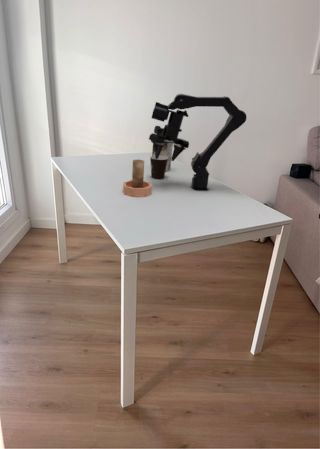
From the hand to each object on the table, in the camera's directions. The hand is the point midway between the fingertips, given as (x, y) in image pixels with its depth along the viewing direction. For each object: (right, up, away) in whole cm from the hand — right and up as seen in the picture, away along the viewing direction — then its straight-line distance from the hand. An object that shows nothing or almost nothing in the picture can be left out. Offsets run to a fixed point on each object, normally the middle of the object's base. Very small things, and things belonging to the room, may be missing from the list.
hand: (164, 159), depth 143 cm
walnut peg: (-12, -14, -5) cm, 19 cm away
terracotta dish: (-12, -15, -4) cm, 19 cm away
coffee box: (-2, +1, +31) cm, 31 cm away
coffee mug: (-3, -5, +19) cm, 20 cm away
